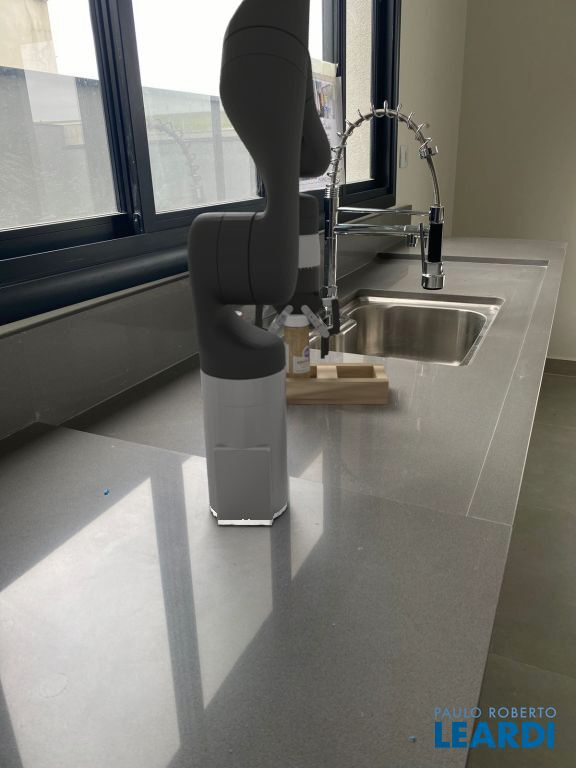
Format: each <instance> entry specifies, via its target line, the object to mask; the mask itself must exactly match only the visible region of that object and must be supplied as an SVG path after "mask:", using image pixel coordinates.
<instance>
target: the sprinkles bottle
mask: <svg viewBox="0 0 576 768" xmlns="http://www.w3.org/2000/svg"><path fill="white" fill-rule="evenodd" d="M310 324H311V322H309V319H308V317H307V316H306V315H305V314H290V315H289V316H287V318H286V320H285V321H284V322H283V323H282V325H283V334H284V337H283V338H284V339H283V342H284V345H285V351H286V378H310V363H311V353H310V352H311V349H310Z"/></svg>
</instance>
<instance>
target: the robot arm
mask: <svg viewBox="0 0 576 768" xmlns="http://www.w3.org/2000/svg"><path fill="white" fill-rule="evenodd" d="M310 7H311V0H242V1H241V2H240V4H239V5H238V6H237V8H236V10H235V11H234V13H233V14H232V16H231V18H230V19H229V21H228V24H227V26H226V28H225V32H224V35H223V40H222V48H221V59H220V70H219V71H220V72H219V85H218V86H219V87H218V91H219V92H218V94H219V97H220V101H221V105H222V108H223V111H224V113H225V115H226V117H227V119H228V120H229V122H230V124H231V126H232V128H233V129H234V131H235V133H236V135H237V136H238V137H239V139H240V141H241V143H242V145H244V147H245V149H246V150H247V152H248V153H249V155H250V157H251V159H252V160H253V162H254V164H255V167H256V169H257V171H258V173H259V176H260V178H261V181H262V183H263V186H264V189H265V190H264V191H265V195H266V207H265V209H264V210H263V211H261V212H260V211H259V212H257V211H256V212H255V211H254V212H249V211H248V212H247V211H246V212H245V211H243V212H242V211H241V212H237V211H234V212H231V211H230V212H229V211H227V212H224V211H223V212H222V211H221V212H219V211H218V212H205V213H201V214H199V215H197V216H196V217H195V218H194V220H193V221H192V223H191V225H190V228H189V231H188V237H187V245H186V246H187V248H186V249H187V250H186V251H187V252H186V253H187V268H188V276H189V277H188V279H189V286H190V291H191V292H190V293H191V299H192V300H191V301H192V307H193V309H192V310H193V316H194V327H195V340H196V346H197V350H198V356H199V368H200V369H199V370H200V371H199V372H200V384H201V400H202V401H201V402H202V403H201V404H202V415H203V429H204V444H205V445H204V446H205V458H206V459H205V460H206V461H205V462H206V473H207V488H208V500H209V501H208V502H209V503H210V504H209V507H210V506H211V508H212V509H213V510H214V511H215V512H216V513H217V518H216V520H217V519H218V520H242V519H244V520H248V519H250V520H272V519H273V516H274V514H275V513H277V512H279V511H280V510H281V509H282V508H283V507H284V506H285V505H286V503H287V501H288V502H289V493H288V492H289V489H288V487H289V486H288V484H289V483H288V439H287V437H288V436H287V434H288V432H287V425H288V424H287V423H288V422H287V404H286V351H285V345H284V340H283V339H282V338H281V337H280V336H279V335H277V334H276V332H277V330H279V329H280V328H281V326H282V325H283V322H284V321H285V320H286V318H287V316H289V315H290V314H305V315H306V316H307V317H308V319H309V322H310V324H312V325H313V326H314V328H315V329H317V331H318V332H319V333H320V359H321V360H325V359H326V356H328V355H329V353H330V338H331V336H333V335H338V334H340V333H341V319H340V317H341V315H340V300H339V297H338V296H337V295H332V297H326V298H325V297H324V298H322V296H321V258H322V257H321V245H320V244H321V243H320V234H319V232H320V230H319V229H320V228H319V225H320V223H319V222H320V221H319V219H320V218H319V217H320V216H319V214H320V211H319V210H320V207H319V201H318V199H317V197H316V196H314V195H311V194H307V193H303V192H300V179H307V178H308V179H313V178H314V179H315V178H319V177H322V176H323V175H324V174H326V173H327V171H328V170H329V168H330V165H331V163H332V162H331V161H332V149H331V148H332V147H331V143H330V140H329V138H328V134H327V133H326V129H325V127H324V125H323V122H322V119H321V118H320V117H321V116H320V113H319V110H318V107H317V104H316V98H315V89H314V88H315V87H314V78H313V76H314V75H313V66H312V65H313V64H312V58H311V53H310V50H309V48H310V47H309V44H310V40H309V39H310V38H309V37H310V13H311V12H310V11H311V8H310ZM239 305H240V306H255V313H254V314H255V317H254V324H253V323H251V322H249V321H247V320H246V319H245V318H244V317H243V318H244V319H245V320H244V319H243V318H242V317H240V316H239V315H238V314H237V313H236V312H235V311H236V310H235V309H234V307H233V306H239ZM270 306H272V308H273V309H274V310H275V311H276V313H277V315H276V316H275V318H274V319H273V320H272V322H271V323H270V324H269V326H265V325H264V317H265V316H264V312H267V311H268V309H269V307H270ZM323 306H325V308H326V309H327V311H328V312H331V324H332V325H329V326H327V325H326V323H324V321H323V320H322V318H321V316H320V315H319V314H318V313H319V311H320V310H321V309H322V307H323Z"/></svg>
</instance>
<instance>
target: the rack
mask: <svg viewBox="0 0 576 768" xmlns="http://www.w3.org/2000/svg"><path fill="white" fill-rule="evenodd" d="M385 370H386V369H385V367H384V364H383V363H382V362H310V378H286V405H388V404H389V403H388V401H389V386H390V385H389V383H390V382H389V378H388V375H387V373H386V371H385Z"/></svg>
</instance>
